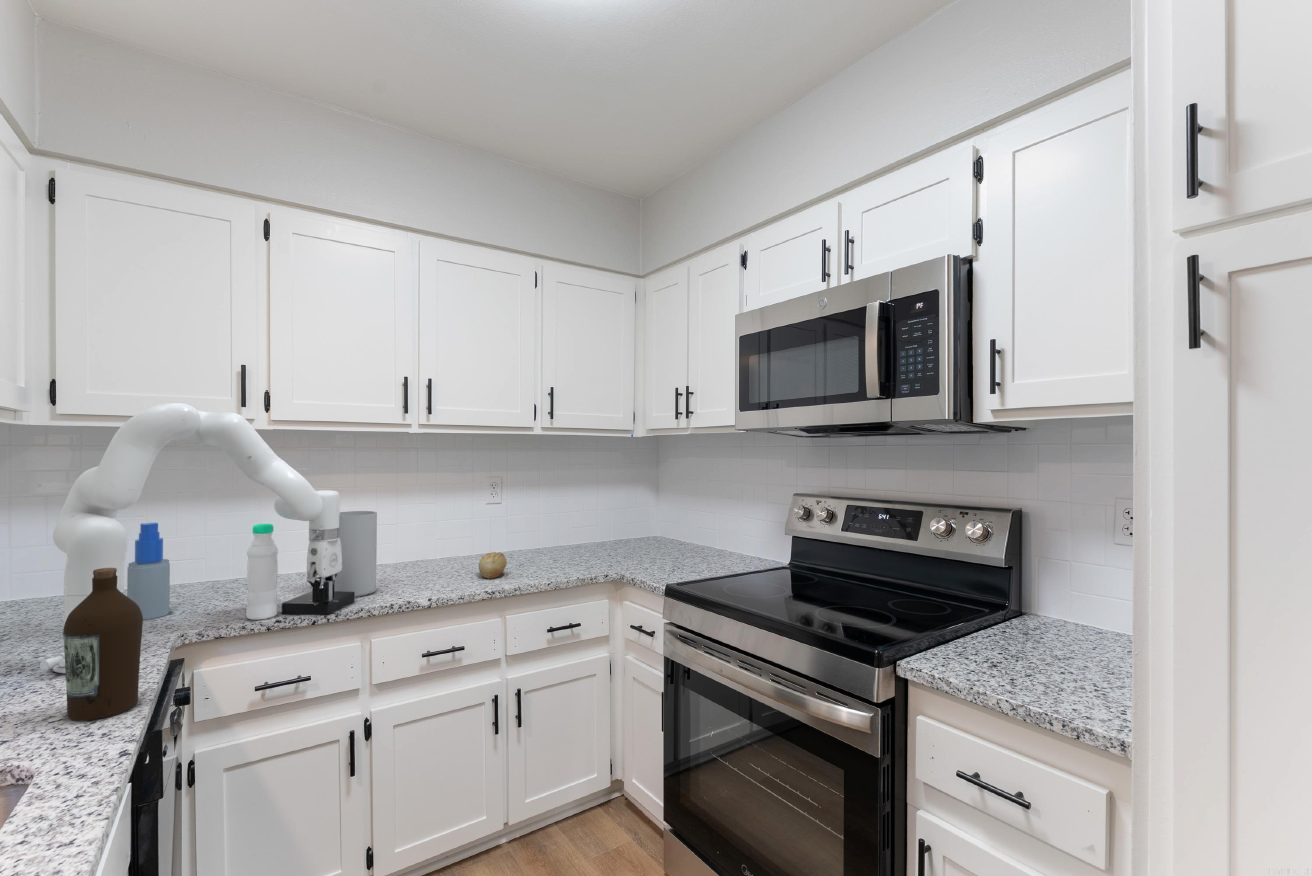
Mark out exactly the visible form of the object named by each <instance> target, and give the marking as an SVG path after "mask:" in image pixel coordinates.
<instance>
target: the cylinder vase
mask: <svg viewBox="0 0 1312 876" xmlns="http://www.w3.org/2000/svg"><path fill="white" fill-rule="evenodd" d="M377 536H378V511H374V510H350V511H339V538H340V542H341V550H342V570H341V571H340V572H339V573H338V574H337V576H336V582H335V591H342V592H355V598H358V597H366V596H368V595H371V594H373V593H375V592H376V591H377V556H378V555H377V549H378V547H377V546H378V544H377V543H378V537H377Z"/></svg>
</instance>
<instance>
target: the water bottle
mask: <svg viewBox="0 0 1312 876" xmlns="http://www.w3.org/2000/svg"><path fill="white" fill-rule="evenodd" d="M273 532H274V525H273V524H272V523H259V524H254V525H253V526H252V534H253V536H254V538H253V540H252V541H251V543H250V546H249V547H248V549H247V551H246V554H247V555H246V556H247V564H246V565H247V566H246V587H247V592H246V603H247V605H246V611H245V613H246V614H245V615H246V618H247V619H249V620H251V621H261V620H268V619H271V618H274V617H276V615H277V614H278V603H277V601H278V587H277V586H278V575H279V573H278V568H279V566H278V554H279V549H278V547H277V544H276V543H275V540H274V539H273V537H272V535H273Z"/></svg>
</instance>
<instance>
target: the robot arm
mask: <svg viewBox="0 0 1312 876" xmlns="http://www.w3.org/2000/svg"><path fill="white" fill-rule="evenodd" d="M255 429H256V428H254V427H253V426H252V425H251V423H250V422H249V421H248V420H247V419H246V418H245V417H244V416H243V415H241V414H239V413H236V412H231V411H230V412H229V411H224V412H215V411H206V410H205V411H204V410H198V409H197V408H195V407H194V406H192V405H191V404H188V403H183V402H169V403H168V402H167V403H158V404H154V405H152V406H148V408H146V409H144V410H142V411H140V412H138V413H136V414H135V415H133V416H132V417H130V418H129V419H127V420H126V421H125V422H124V423H123V424H122V425H121V426H120V427H119V428H118V429H117V431H116V432H115V434H114V435H113V437H112V438H111V441H110V442H109V445H108V446H107V448H106V450H105V452H104V454H103V456H102V458H101V460H100V462H99V464H98V465H97V466H94V467H91V468H89V469H87V470H85V471H84V472H83V473H81V474H80V475H79V476H78V478H76V480H75V481H74V483H73V484H72V487H71V488H70V490H69V493H68V495H67V497H66V499H65V502H64V504H63V507H62V508H61V511H60V513H59V515H58V517H57V520H56V522H55V525H54V528H53V532H52V539H53V543H54V545H55V546H56V547H57V549H58V550H60V551H61V552H62V553H64V554H66V562H65V569H64V577H63V626H64V625H65V622H66V619H67V617H68V615H69V614H70V613H71V611H72V610H73V609H74V608H76V607H77V606H78V605H79V604H80V603H81V602H82V601H83V600H84V599H85V598H86V597H87V596H89V595H90V593H91V592H92V578H94V575H93V571H94V570H96V569H101V568H116V569H117V572H116V575H117V576H118V577H117V589H118V590H119V591H120V592H122V593H123V594H124V595H125V586H124V585H125V565H126V564H125V563H126V557H127V551H128V545H129V540H128V533H127V530H126V528H125V527H124V526H123V524H122V523H121V522H120V521H118V520H116V517H117V515H118V512H119V510H125V509H127V508H130V507H132V506H133V505H135V503H137V501H138V500H139V498H140V497H141V494H142V492H143V489H144V487H145V484H146V482H147V479H148V476H149V474H150V471H151V468H152V466H153V464H154V462H155V460H156V458H157V456H158V454H159V453H160V451H161V450H162V449H163V448H164V447H165V446H166V445H167V444H169V443H170V442H178V443H185V444H192V445H201V446H203V445H204V446H214V447H215V446H216V447H219V448H220V449H221V451H223V453H224V454H225V455H226V456H227V457H228V458H229V459H230V460H231V461H232V462H233V464H234V465H235V466H236V467H237V468H238V469H239V470H240V471H241V473H242V474H243V475H244V476H245V477H247V478H248V479H250V480H252V482H255V483H257V484H259V485H261V486H263V487H265V488H267V489H268V490H271V491H272V492H273V493H274V494H275V495H277V498H276V499H275V501H274V503H273V507H274V511H275V513H276V514H277V515H279V516H280V517H281V518H284V519H287V520H293V521H294V520H295V521H302V522H308V548H307V555H306V576H307V577H306V582H307V583H309V585H310V588H311V591H312V602H313V603H323V602H325V588H323V584H324V581H333V583H332V598H334V591H335V582H336V576H337V574H338V573H339V572H340V571H341V570H342V550H341V542H340V538H339V512H340V507H341V506H340V505H341V504H340V502H341V501H340V499H341V497H340V496H341V495H340V493H339V492H338V491H337V490H332V489H321V490H315V488H314V486H312V485H311V484H310V482H309V481H308V480H307V479H306V478H305V477H304V476H303V475H302V474H301V473H300V472H298V471H297V470H296V469H294V468H293V467H291V466H290V465H289V464H288V463H287V462H286V461H285V460H284V459H282V458H281V457H280V456H278V455H277V454H276V453H275V452H274V450H273V449H272V448H271V447H270V445H269V444H267V443H266V441H265V440H264V439H263V438H262V436H261V435H260V434H259V433H258V432H257V431H256V430H255ZM318 580H320V582H319V581H318ZM39 668H40V669H41V670H42V671H46V670H49V669H52V671H54V672H55V673H58V674H66V671H65V653H64V647H62V648H59V649H58V653H57V654H56V655H55V656H54V657H50V658H46V659H43V660H42V661H40V662H39Z"/></svg>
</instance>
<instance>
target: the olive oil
mask: <svg viewBox="0 0 1312 876" xmlns="http://www.w3.org/2000/svg"><path fill="white" fill-rule="evenodd" d="M116 572H117V569H116V568H101V569H96V570H94V571H93V575H94V578H92V592H91V593H90V595H89V596H87V597H86V598H85V599H84V600H83V601H82V602H81V603H80V604H79V605H78V606H77V607H76V608H74V609H73V610H72V611H71V613H70V614H69V615H68V617H67V619H66V622H65V625H64V624H63V631H62V639H63V648H64V653H65V671H66V673H65V688H66V689H65V690H66V716H67V718H68V719H69V720H71V721H76V722H85V721H94V720H100V719H105V718H109V717H113V716H116V715H119V714H122V713H124V712H127V711H129V710H131V709H133V708H134V707H135V706H136V705H137V704H138V702H139V701H138V700H139V685H140V684H139V680H140V665H141V663H140V662H141V653H142V652H141V650H142V649H141V648H142V637H143V635H142V634H143V627H144V626H143V624H144V620H143V616H142V612H141V610H140V608H139V606H138V605H137V604H136V603H135V602H134V601H133V600H131V599H130V598H128V597H127V594H125V593H124V594H123V593H122V592H120V591H119V590H118V589H117V577H118V576H117V575H116Z"/></svg>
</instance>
